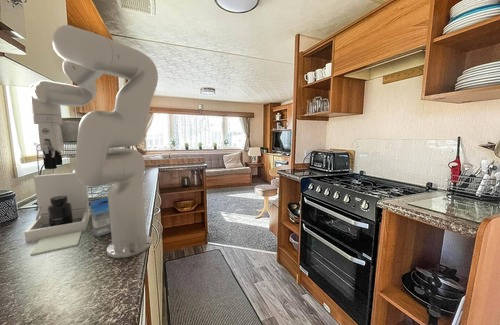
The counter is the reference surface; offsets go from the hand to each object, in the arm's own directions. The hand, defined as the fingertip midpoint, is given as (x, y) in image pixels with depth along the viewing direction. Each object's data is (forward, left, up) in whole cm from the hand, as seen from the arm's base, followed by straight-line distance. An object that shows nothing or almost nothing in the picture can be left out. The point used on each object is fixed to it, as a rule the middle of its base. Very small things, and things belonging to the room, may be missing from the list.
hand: (54, 166), depth 80 cm
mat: (-15, -2, -24) cm, 28 cm away
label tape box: (-14, -16, -24) cm, 32 cm away
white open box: (0, 0, -24) cm, 24 cm away
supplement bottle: (0, 0, -24) cm, 24 cm away
